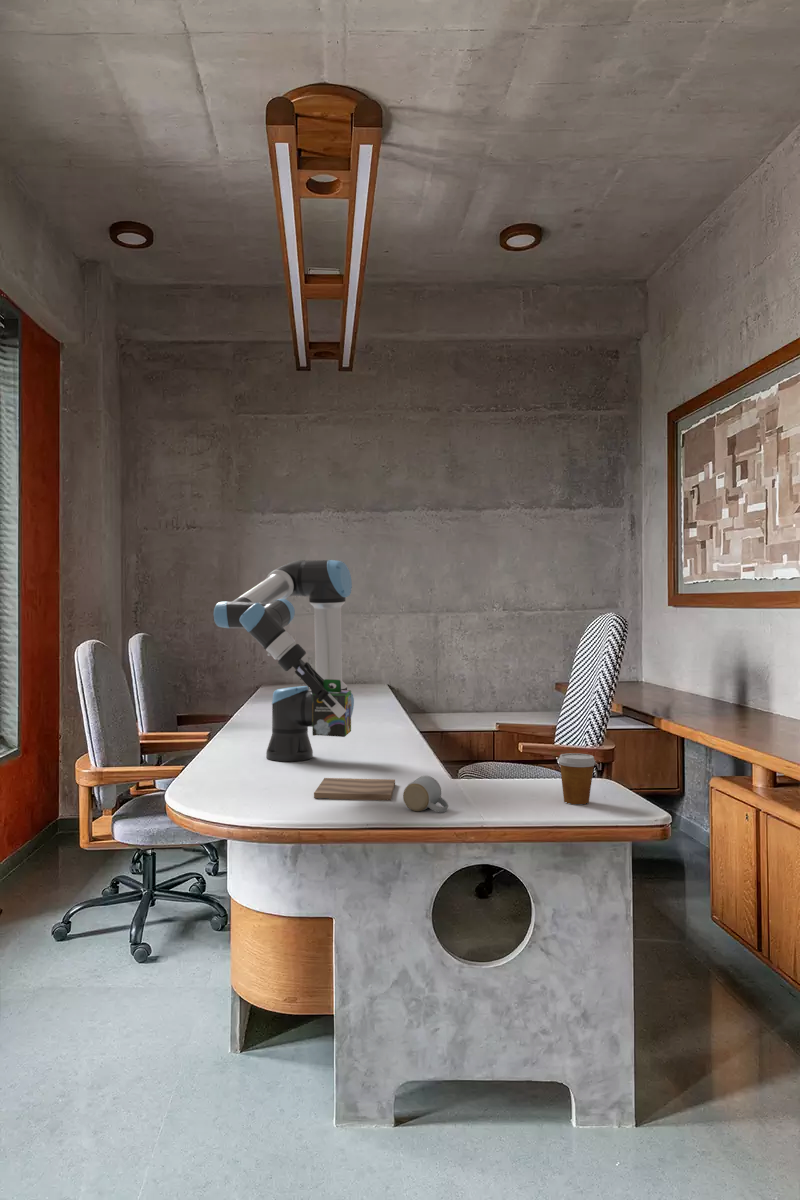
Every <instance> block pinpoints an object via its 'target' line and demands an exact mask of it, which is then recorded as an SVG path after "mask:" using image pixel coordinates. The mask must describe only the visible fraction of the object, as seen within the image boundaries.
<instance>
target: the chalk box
mask: <svg viewBox="0 0 800 1200" xmlns="http://www.w3.org/2000/svg"><path fill="white" fill-rule="evenodd" d="M323 683H324V688H325V690H326V691H328V693H330V694H331V695H332V696H333V697H334V698H335V699H336V700H337V701H338V702H339V703H340V705H341V706H342V707H343V708H344V709H345V710H346V712H345V713H344V714H343V715H342V716H341V717H340V718H338V717H337V716H336V715H335V714H334V713H333V712H332V710H331V709H330V708H329V707H328V706H327V705H326V704H325V703H324V702H323V701H321V702H319V701H318V699H319V698H317V696H316V695H315V694H314V693H313V727H312V728H311V729H312V736H322V737H323V736H325V737H336V738H337V737H339V738H345V737H346V736H347V735H349V734H350V732H351V731H352V716H351V693H352V690H349V689H347V690H341V681H340V680H332V679H325V680H324V682H323ZM330 683H334V684H335V685H336V688H329V686H328V685H329V684H330Z"/></svg>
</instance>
